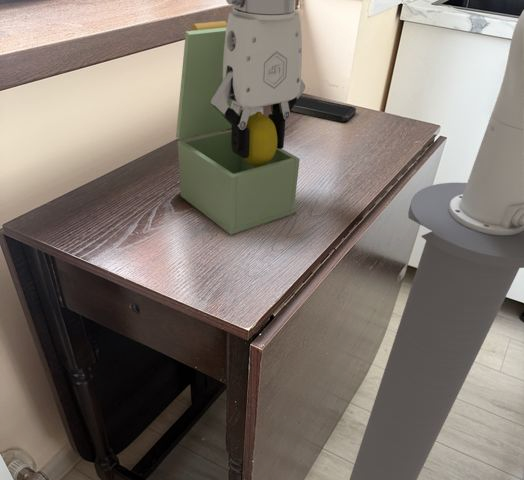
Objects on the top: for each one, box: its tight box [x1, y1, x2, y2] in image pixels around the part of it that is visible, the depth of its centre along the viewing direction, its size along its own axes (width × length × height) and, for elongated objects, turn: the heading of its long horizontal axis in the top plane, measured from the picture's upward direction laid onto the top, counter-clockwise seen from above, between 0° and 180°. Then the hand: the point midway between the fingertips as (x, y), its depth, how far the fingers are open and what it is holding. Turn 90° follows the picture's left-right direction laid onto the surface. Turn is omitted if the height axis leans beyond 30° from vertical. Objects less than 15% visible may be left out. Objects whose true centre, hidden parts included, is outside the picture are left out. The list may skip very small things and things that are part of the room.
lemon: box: [243, 112, 277, 168], centre depth 72 cm, size 6×6×8 cm
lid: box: [175, 20, 242, 140], centre depth 73 cm, size 15×12×5 cm
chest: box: [177, 129, 300, 235], centre depth 78 cm, size 14×12×9 cm
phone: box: [290, 95, 357, 123], centre depth 115 cm, size 8×1×15 cm
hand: (258, 148), depth 73 cm, fingers closed on lemon, 5 cm apart
